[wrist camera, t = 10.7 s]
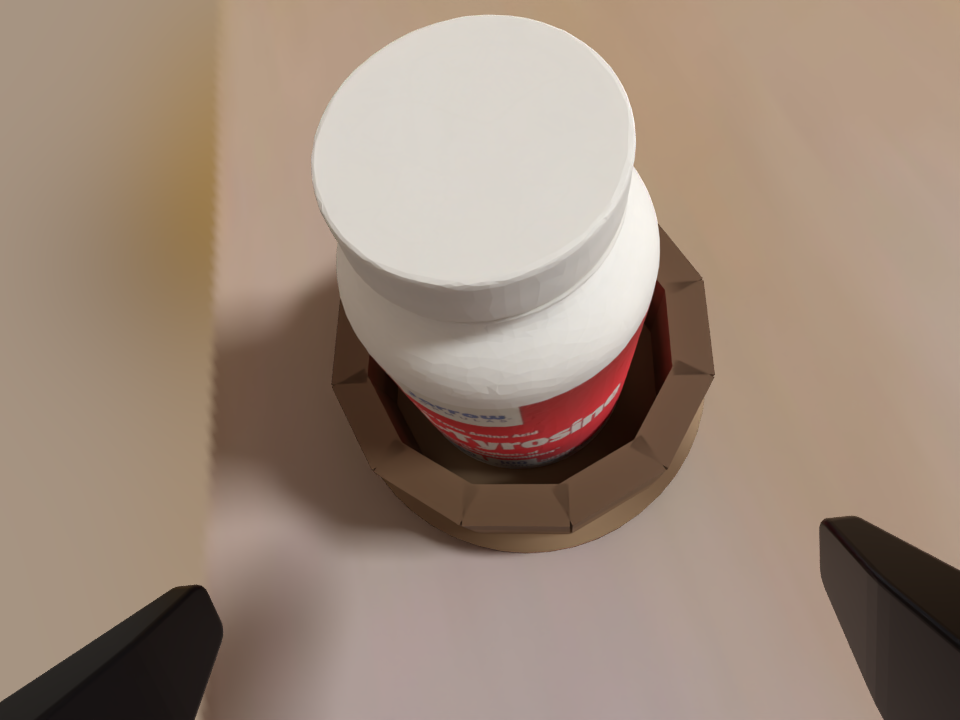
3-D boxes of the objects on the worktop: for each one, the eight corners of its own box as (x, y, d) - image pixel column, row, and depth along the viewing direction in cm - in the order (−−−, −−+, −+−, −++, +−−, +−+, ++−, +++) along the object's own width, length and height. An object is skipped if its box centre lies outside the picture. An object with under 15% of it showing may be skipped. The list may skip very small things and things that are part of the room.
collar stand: (597, 628, 17) (606, 644, 13) (302, 441, 20) (240, 411, 16) (755, 312, 19) (800, 251, 16) (469, 189, 23) (450, 113, 19)
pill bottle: (431, 483, 18) (247, 370, 8) (419, 299, 20) (263, 15, 10) (639, 459, 17) (746, 302, 7) (605, 273, 19) (649, -61, 9)
